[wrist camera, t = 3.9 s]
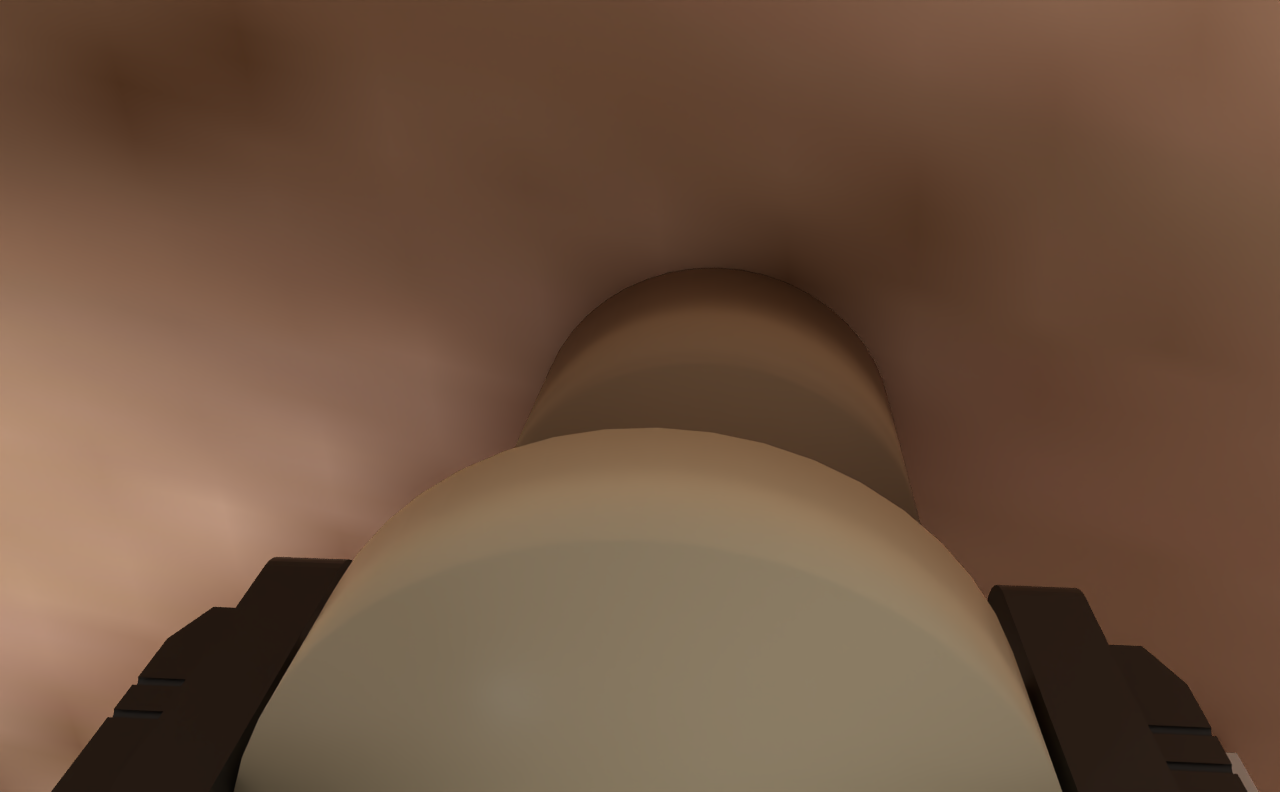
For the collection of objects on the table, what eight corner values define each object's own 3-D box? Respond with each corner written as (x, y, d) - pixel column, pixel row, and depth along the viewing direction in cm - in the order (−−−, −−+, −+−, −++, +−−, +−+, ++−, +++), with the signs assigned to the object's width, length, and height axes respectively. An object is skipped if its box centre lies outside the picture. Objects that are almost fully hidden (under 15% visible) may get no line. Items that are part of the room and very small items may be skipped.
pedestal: (533, 262, 16) (474, 354, 12) (907, 274, 15) (947, 372, 12) (544, 578, 18) (495, 728, 14) (876, 597, 17) (902, 755, 14)
